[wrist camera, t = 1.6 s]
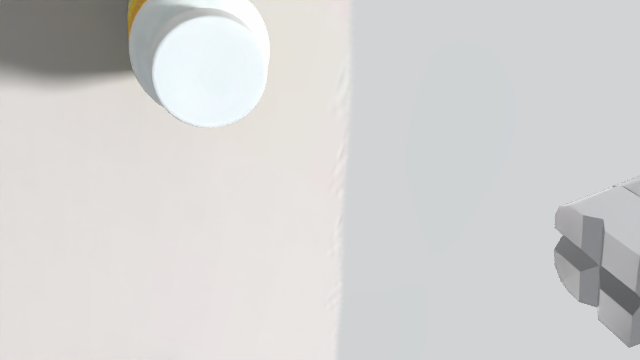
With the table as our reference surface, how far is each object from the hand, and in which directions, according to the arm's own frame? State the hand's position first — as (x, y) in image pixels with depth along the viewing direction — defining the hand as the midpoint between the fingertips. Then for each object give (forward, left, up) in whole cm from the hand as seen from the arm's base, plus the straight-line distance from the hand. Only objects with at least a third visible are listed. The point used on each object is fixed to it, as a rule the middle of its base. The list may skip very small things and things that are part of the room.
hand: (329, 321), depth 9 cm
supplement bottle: (0, 0, -23) cm, 23 cm away
